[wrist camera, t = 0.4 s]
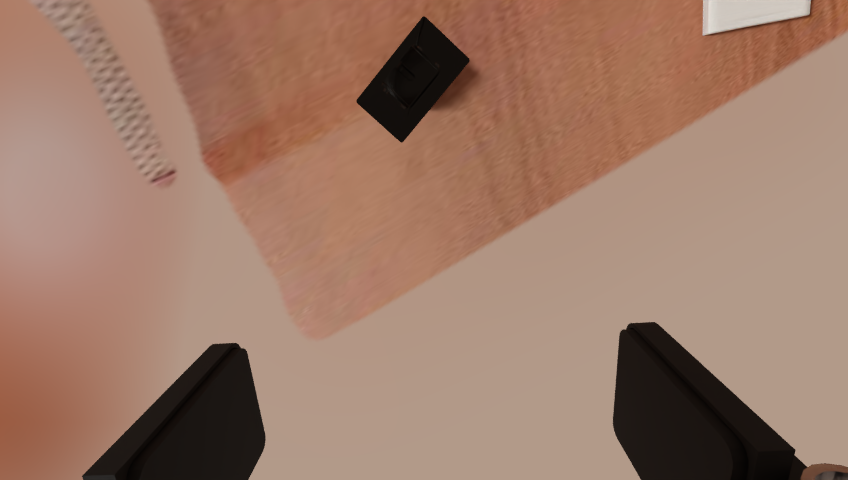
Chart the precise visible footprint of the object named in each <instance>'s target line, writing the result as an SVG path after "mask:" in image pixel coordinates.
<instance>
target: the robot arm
mask: <svg viewBox="0 0 848 480" xmlns="http://www.w3.org/2000/svg"><path fill="white" fill-rule="evenodd" d="M613 426H614V431H615V434H616V436H617V439H618V440H619V442H620V444H621V445H622V447H623V449H624V451H625V452H626V454H627V456H628V458H629V459H630V461H631V462H632V465H633V466H634V468H635V470H636V471H637V473H638V475H639V477H640V479H641V480H848V467H845V466H842V465H834V464H826V463H824V464H815V465H811V466H809V467H807V466H805V465H804V464H803V463H802V462H801V461H800V460H799V459H798V458H797V457H796V456H795V455H794V454H795V449H794V448H793V447H791V446H790V445H789V444H788V443H787V442H786V441H785V440H784V439H782V437H781V436H780V435H778V434H777V433H776V432H775V431H774V430H773V429H772V428H771V427H770V426H769V425H767V424H766V423H765V422H764V421H763V420H762V419H761V418H760V417H759V416H757V414H756V413H754V412H753V411H752V410H751V409H750V408H749V407H748V406H747V405H746V404H744V403H743V402H742V401H741V400H740V399H739V398H738V397H737V396H736V395H735V394H734V393H733V392H731V391H730V390H729V389H728V388H727V387H726V386H725V385H724V384H723V383H722V382H720V381H719V380H718V379H717V378H716V377H715V376H714V375H713V374H712V373H711V372H710V371H709V370H707V369H706V368H705V367H704V366H703V365H702V364H701V363H700V362H699V361H698V360H696V359H695V358H694V357H693V356H692V355H691V354H690V353H689V352H688V351H687V350H686V349H684V348H683V347H682V346H681V345H680V344H679V343H678V342H677V341H676V340H675V339H674V338H672V337H671V336H670V335H669V334H668V333H667V332H666V331H664V329H663V328H662V327H660V326H659V325H658V324H657V323H655V322H648V323H631V324H629V325H628V326H627V329H626V330H622V331H621V332H620V336H619V350H618V363H617V376H616V390H615V402H614V414H613ZM264 446H265V432H264V427H263V423H262V418H261V414H260V409H259V404H258V400H257V395H256V391H255V386H254V381H253V377H252V372H251V368H250V363H249V359H248V354H247V351H246V350H245V349H242V348H240V346H239V345H238V344H237V343H226V344H213V345H211V346H210V347H209V348H208V349H207V350H206V351H205V352H204V353H203V354H202V355H201V356H200V357H199V358H198V359H197V360H196V361H195V362H194V363H193V364H192V365H191V366H190V367H189V368H188V369H187V370H186V371H185V372H184V373H183V374H182V375H181V376H180V377H179V378H178V379H177V380H176V381H175V382H174V384H172V385H171V386H170V387H169V388H168V389H167V390H166V391H165V392H164V393H163V394H162V395H161V397H159V399H157V401H156V402H155V403H154V404H153V405H152V406H151V407H150V408H149V409H148V410H147V411H146V412H145V413H144V414H143V415H142V416H141V417H140V418H139V419H138V420H137V421H136V422H135V423H134V424H133V425H132V426H131V427H130V428H129V429H128V430H127V431H126V432H125V433H124V434H123V435H122V436H121V437H120V438H119V439H118V440H117V441H116V442H115V443H114V444H113V445H112V446H111V447H110V448H109V449H108V450H107V451H106V452H105V453H104V455H102V456H101V457H100V458H99V459H98V460H97V461H96V462H95V463H94V465H92V467H91V468H90V469H89V470H88V471H87V472H86V473H85V474H84V475H83V476H82V477H83V480H248V479H249V477H250V475H251V473H252V471H253V469H254V467H255V465H256V464H257V462H258V460H259V458H260V456H261V454H262V452H263V449H264Z"/></svg>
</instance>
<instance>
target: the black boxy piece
mask: <svg viewBox="0 0 848 480" xmlns="http://www.w3.org/2000/svg"><path fill="white" fill-rule="evenodd" d="M468 63H469V58H468V57H467V56H466V55H465V54H464V53H463V52H461V51H460V50H459V49H458V48H457V47H456V46H455V45H454V44H453V43H452V42H451V41H450V40H449V39H448V38H447V37H446V36H445V35H444V34H443V33H442V32H441V31H440V30H439V29H437V28H436V27H435V26H434V25H433V24H432V23H431V22H430V21H429V20H428V19H427V18H426V17H422V18H421V20H420V21H419V22H418V23H417V25H416V26H415V27H414V28H413V30H412V31H411V32H410V33H409V35H408V36H407V37H406V39H405V40H404V41H403V42H402V44H401V45H400V46H399V47H398V49H397V50H396V51H395V52H394V54H393V55H392V56H391V57H390V59H389V60H388V61H387V62H386V64H385V65H384V66H383V68H382V69H381V70H380V71H379V73H378V74H377V75H376V76H375V78H374V79H373V80H372V81H371V83H370V84H369V85H368V86H367V88H366V89H365V90H364V91H363V93H362V94H361V95H360V96H359V98H358V99H357V103H358V104H359V105H360V106H361V107H362V108H363V109H364V110H366V111H367V112H368V113H369V114H370V115H371V116H372V117H373V118H374V119H375V120H377V121H378V122H379V123H380V124H381V125H382V126H383V127H384V128H385V129H387V130H388V131H389V132H390V133H391V134H392V135H393V136H394V137H395V138H396V139H398V140H399V141H400V142H403V141H404V140H405V139H406V138H407V136H408V135H409V134H410V133H411V132H412V130H413V129H414V128H415V127H416V126H417V124H418V123H419V122H420V121H421V119H422V118H423V117H424V116H425V115H426V113H427V112H428V111H429V110H430V109H431V107H432V106H433V105H434V104H435V103H436V101H437V100H438V99H439V98H440V96H441V95H442V94H443V93H444V92H445V90H446V89H447V88H448V87H449V86H450V84H451V83H452V82H453V81H454V79H455V78H456V77H457V76H458V75H459V73H460V72H461V71H462V70H463V69H464V67H465V66H466V65H467V64H468Z"/></svg>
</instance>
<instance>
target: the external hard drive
mask: <svg viewBox="0 0 848 480" xmlns="http://www.w3.org/2000/svg"><path fill="white" fill-rule="evenodd" d="M810 4H811V0H703V36H704V35H709V34H714V33H719V32H724V31H729V30H735V29H740V28H744V27H750V26H755V25H760V24H766V23H772V22H777V21H782V20H788V19H793V18H798V17H803V16H807V15H809V14H810Z"/></svg>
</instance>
